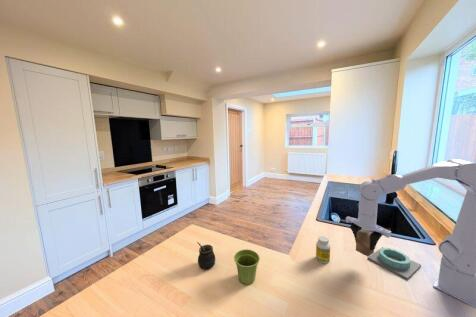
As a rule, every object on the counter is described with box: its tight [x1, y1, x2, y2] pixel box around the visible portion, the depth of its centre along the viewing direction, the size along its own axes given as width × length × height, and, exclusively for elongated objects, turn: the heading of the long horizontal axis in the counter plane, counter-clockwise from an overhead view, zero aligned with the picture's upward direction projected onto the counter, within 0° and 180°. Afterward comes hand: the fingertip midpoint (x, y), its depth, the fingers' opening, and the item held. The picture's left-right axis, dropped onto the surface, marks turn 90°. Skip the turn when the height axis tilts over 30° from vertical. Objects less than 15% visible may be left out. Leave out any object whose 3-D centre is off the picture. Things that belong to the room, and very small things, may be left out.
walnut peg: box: [355, 228, 375, 257], centre depth 71 cm, size 4×4×8 cm
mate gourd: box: [197, 241, 216, 271], centre depth 74 cm, size 7×8×10 cm
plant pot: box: [233, 249, 261, 286], centre depth 67 cm, size 9×9×9 cm
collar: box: [367, 247, 422, 281], centre depth 74 cm, size 13×13×3 cm
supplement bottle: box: [315, 235, 331, 264], centre depth 76 cm, size 5×5×10 cm
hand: (365, 245), depth 71 cm, fingers closed on walnut peg, 4 cm apart
